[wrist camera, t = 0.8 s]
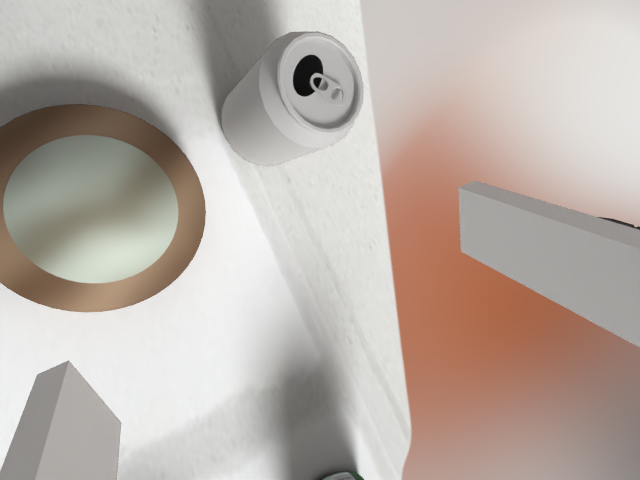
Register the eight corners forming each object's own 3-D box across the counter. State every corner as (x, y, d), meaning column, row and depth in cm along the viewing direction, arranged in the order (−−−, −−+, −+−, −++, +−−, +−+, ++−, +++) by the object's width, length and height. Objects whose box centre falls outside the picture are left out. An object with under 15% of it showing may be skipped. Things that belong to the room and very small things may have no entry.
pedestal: (-84, 227, 22) (-113, 229, 19) (78, 74, 25) (72, 57, 23) (123, 336, 28) (124, 348, 25) (231, 199, 31) (241, 197, 29)
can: (243, 65, 31) (304, -11, 21) (309, 118, 35) (389, 75, 24) (202, 135, 30) (246, 92, 20) (274, 183, 33) (344, 167, 23)
